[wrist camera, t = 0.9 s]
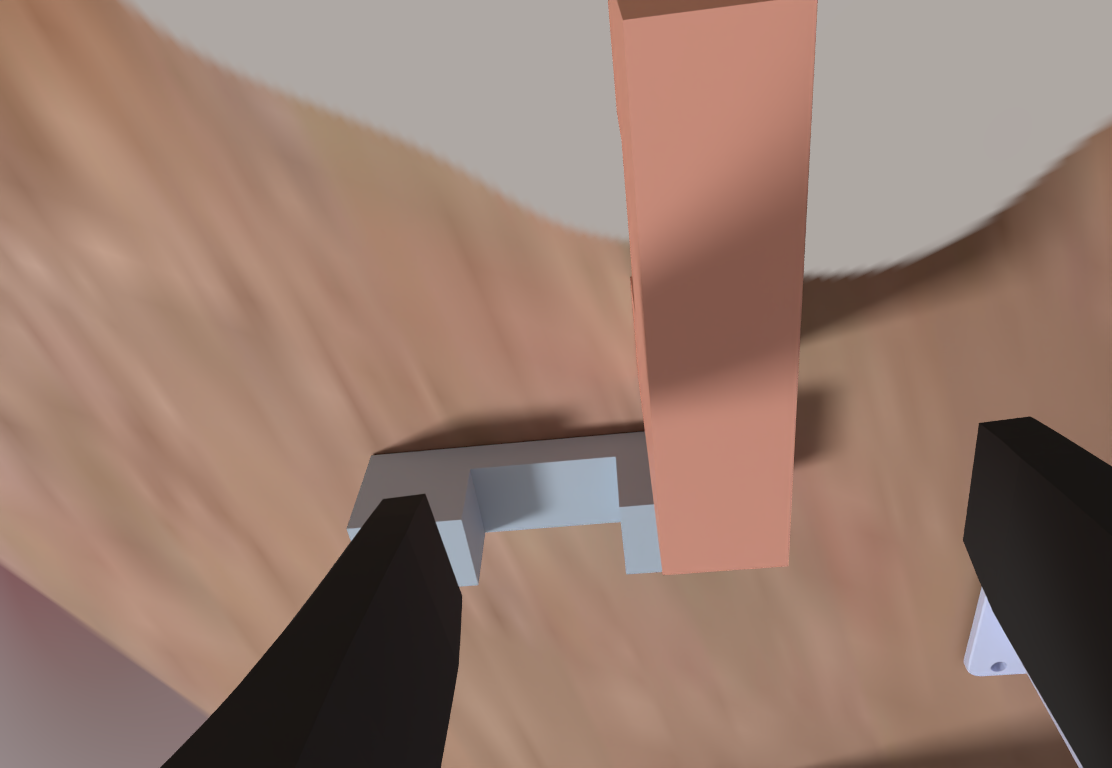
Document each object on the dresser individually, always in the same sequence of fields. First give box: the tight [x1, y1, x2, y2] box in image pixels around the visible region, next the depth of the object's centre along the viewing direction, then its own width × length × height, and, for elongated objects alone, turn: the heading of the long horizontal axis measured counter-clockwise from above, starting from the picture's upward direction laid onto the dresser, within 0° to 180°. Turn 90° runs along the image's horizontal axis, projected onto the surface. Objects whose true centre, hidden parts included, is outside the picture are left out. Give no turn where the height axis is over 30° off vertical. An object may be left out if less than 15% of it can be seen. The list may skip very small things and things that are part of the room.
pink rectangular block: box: [608, 0, 818, 575], centre depth 16 cm, size 2×10×7 cm, turn 7°
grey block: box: [347, 431, 662, 586], centre depth 22 cm, size 10×2×3 cm, turn 97°
